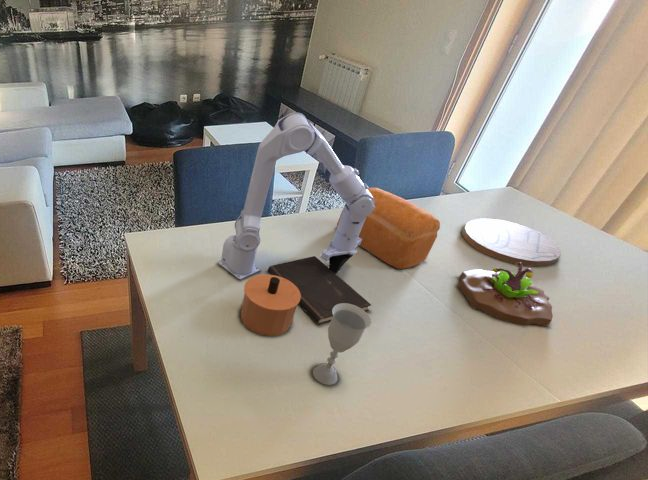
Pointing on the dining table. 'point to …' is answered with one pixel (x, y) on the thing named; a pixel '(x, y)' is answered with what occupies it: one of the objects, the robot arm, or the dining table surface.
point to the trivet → (511, 242)
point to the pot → (265, 319)
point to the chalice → (342, 337)
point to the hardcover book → (318, 287)
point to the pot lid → (272, 292)
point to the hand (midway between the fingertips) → (333, 272)
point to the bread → (398, 230)
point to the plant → (507, 295)
